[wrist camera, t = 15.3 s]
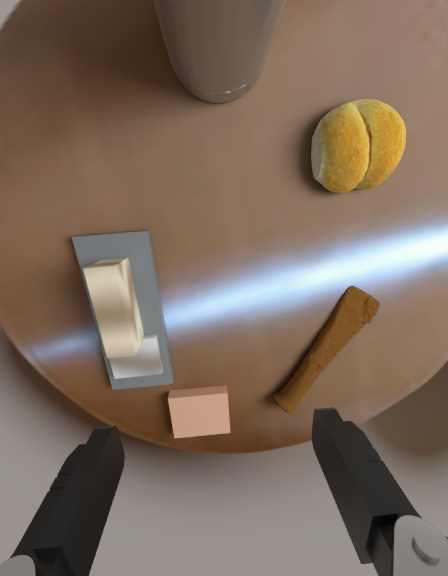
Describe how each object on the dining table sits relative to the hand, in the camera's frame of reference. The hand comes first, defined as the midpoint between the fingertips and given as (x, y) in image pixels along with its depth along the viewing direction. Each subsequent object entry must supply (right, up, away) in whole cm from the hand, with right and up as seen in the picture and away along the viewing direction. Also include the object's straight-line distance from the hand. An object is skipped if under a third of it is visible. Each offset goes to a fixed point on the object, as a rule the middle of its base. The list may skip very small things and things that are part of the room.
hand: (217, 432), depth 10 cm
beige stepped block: (-11, +2, +19) cm, 23 cm away
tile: (-3, -8, +24) cm, 25 cm away
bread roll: (+14, +20, +16) cm, 30 cm away
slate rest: (-11, +3, +20) cm, 23 cm away
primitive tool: (+13, -2, +24) cm, 28 cm away
